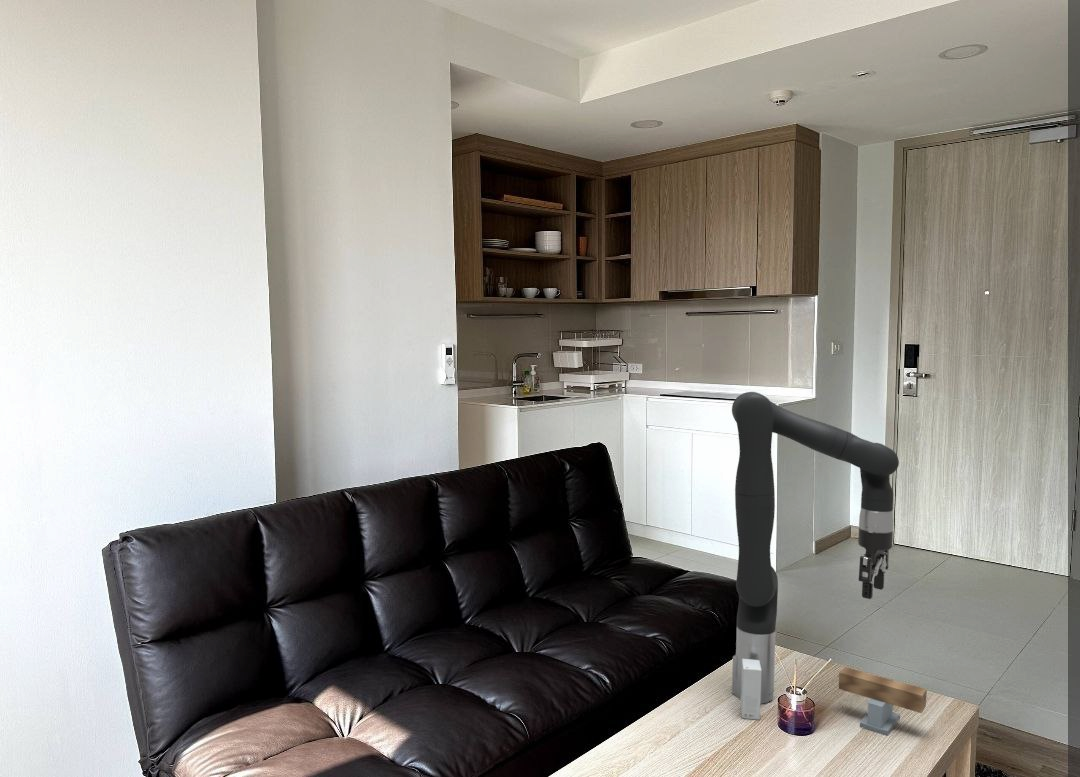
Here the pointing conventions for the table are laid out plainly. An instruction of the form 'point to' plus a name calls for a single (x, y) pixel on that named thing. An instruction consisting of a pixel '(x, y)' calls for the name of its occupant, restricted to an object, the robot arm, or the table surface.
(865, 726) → the ridge block
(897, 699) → the walnut batten
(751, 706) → the skincare box
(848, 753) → the table surface
